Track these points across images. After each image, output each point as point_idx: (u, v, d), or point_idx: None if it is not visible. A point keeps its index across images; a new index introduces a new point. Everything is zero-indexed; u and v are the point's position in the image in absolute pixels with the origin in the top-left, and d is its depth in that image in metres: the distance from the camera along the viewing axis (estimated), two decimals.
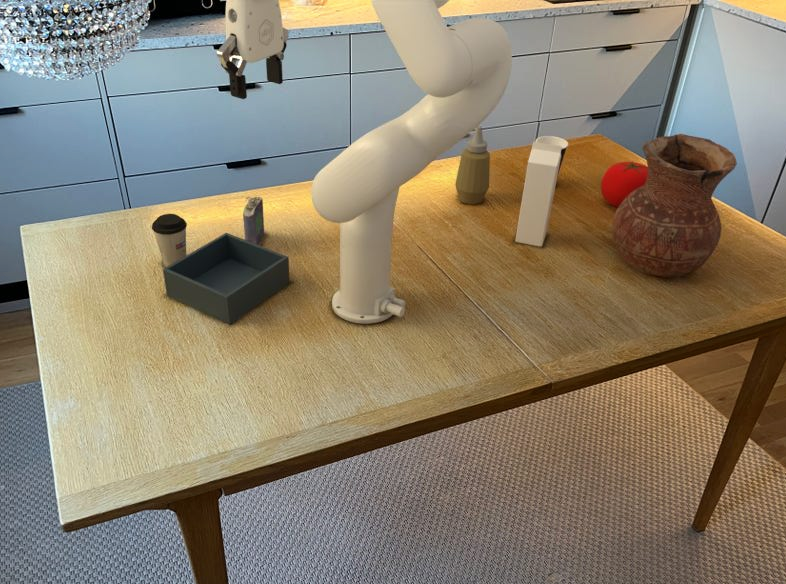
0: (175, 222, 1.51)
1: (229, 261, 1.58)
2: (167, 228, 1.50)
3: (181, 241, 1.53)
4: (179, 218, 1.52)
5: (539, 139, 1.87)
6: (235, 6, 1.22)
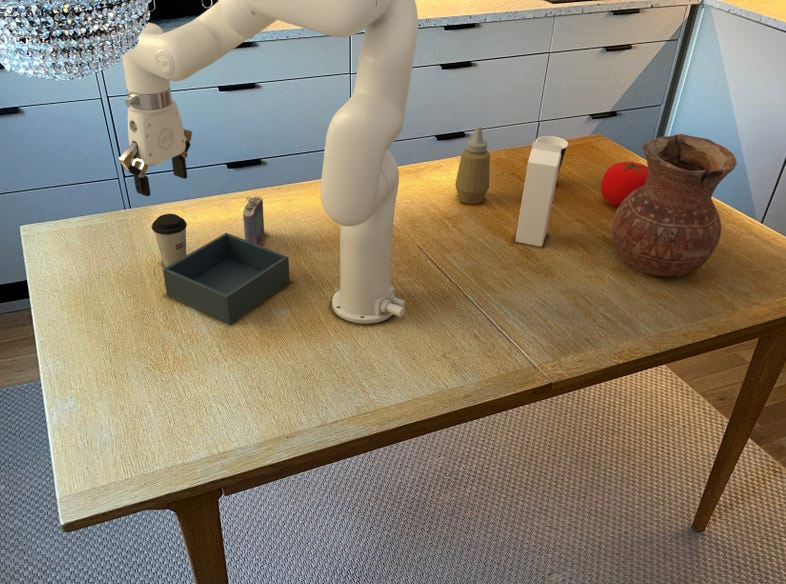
0: (175, 222, 1.51)
1: (229, 261, 1.58)
2: (167, 228, 1.50)
3: (181, 241, 1.53)
4: (179, 218, 1.52)
5: (539, 139, 1.87)
6: (135, 118, 1.35)
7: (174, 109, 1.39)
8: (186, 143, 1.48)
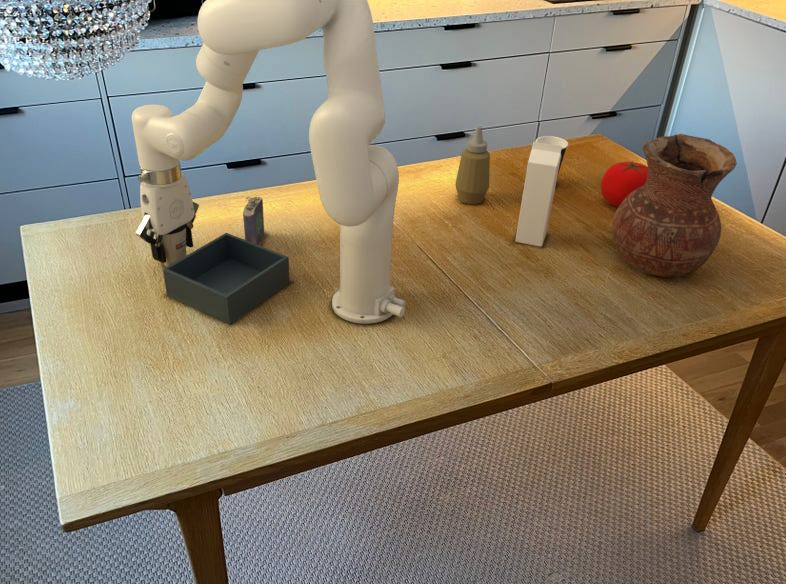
0: None
1: (229, 261, 1.58)
2: None
3: (181, 241, 1.53)
4: None
5: (539, 139, 1.87)
6: (147, 193, 1.44)
7: (183, 181, 1.48)
8: None
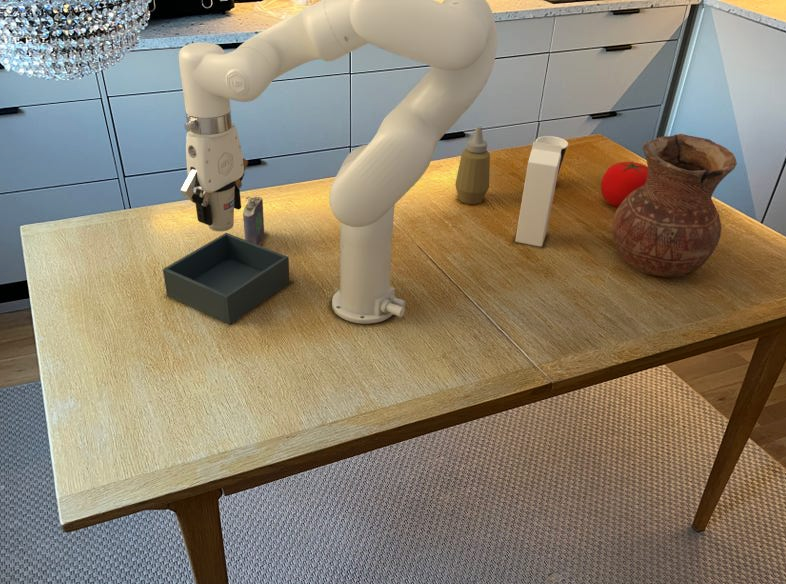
0: None
1: (229, 261, 1.58)
2: None
3: (229, 200, 1.37)
4: None
5: (539, 139, 1.87)
6: (194, 144, 1.28)
7: (234, 132, 1.32)
8: None
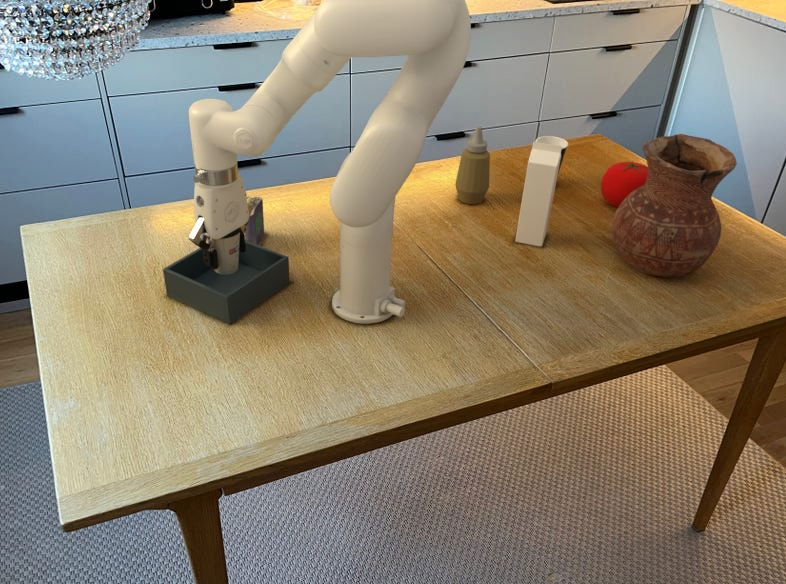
0: None
1: None
2: None
3: (235, 245, 1.43)
4: None
5: (539, 139, 1.87)
6: (202, 194, 1.33)
7: (240, 182, 1.38)
8: None
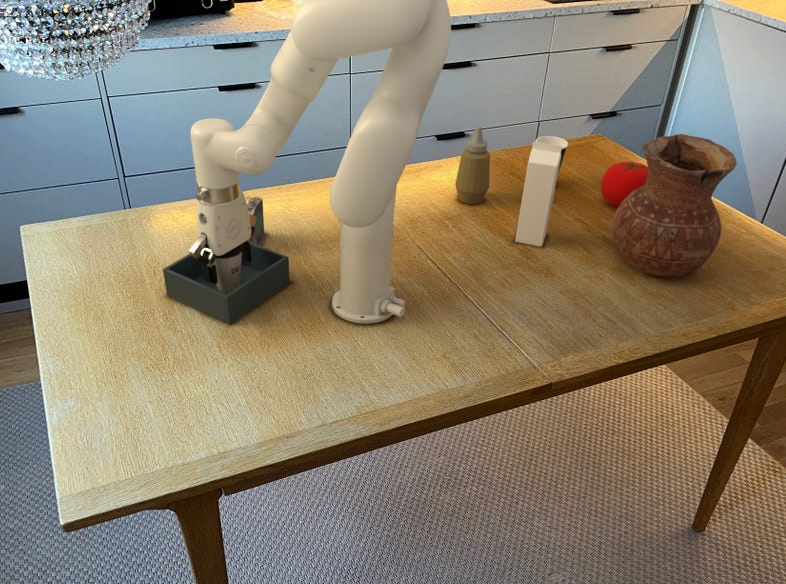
0: None
1: None
2: None
3: (237, 265, 1.45)
4: None
5: (539, 139, 1.87)
6: (205, 212, 1.35)
7: (242, 199, 1.40)
8: (251, 228, 1.48)
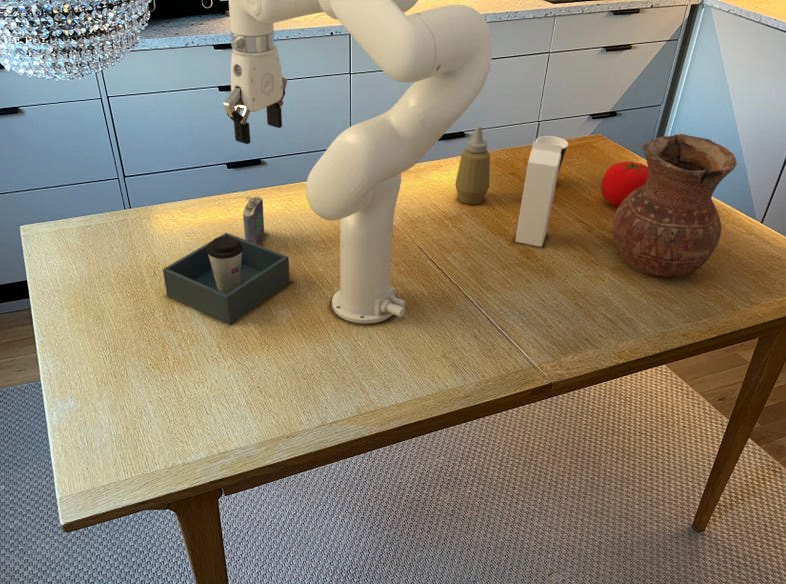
0: (231, 245, 1.43)
1: None
2: (223, 252, 1.43)
3: (237, 265, 1.45)
4: (235, 241, 1.44)
5: (539, 139, 1.87)
6: (240, 62, 1.34)
7: (275, 53, 1.38)
8: None
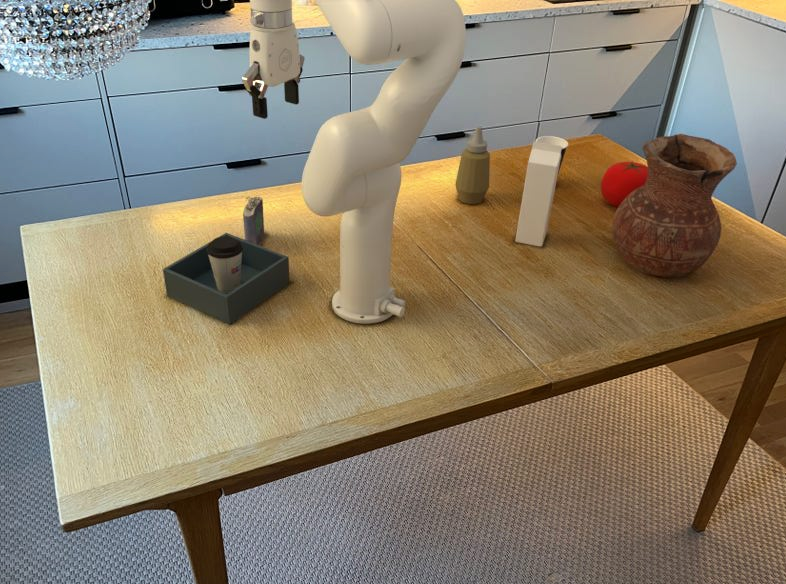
0: (231, 245, 1.43)
1: None
2: (223, 252, 1.43)
3: (237, 265, 1.45)
4: (235, 241, 1.44)
5: (539, 139, 1.87)
6: (258, 37, 1.38)
7: (293, 30, 1.42)
8: None
